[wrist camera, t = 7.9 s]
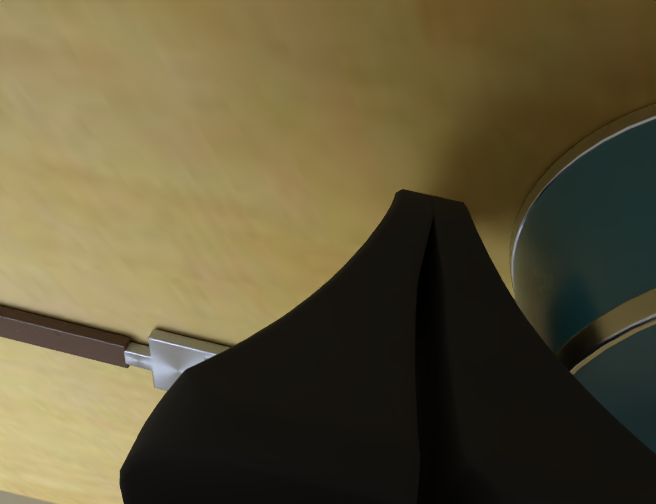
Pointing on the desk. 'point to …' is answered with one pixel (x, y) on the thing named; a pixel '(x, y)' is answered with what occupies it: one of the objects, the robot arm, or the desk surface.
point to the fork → (110, 345)
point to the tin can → (597, 266)
